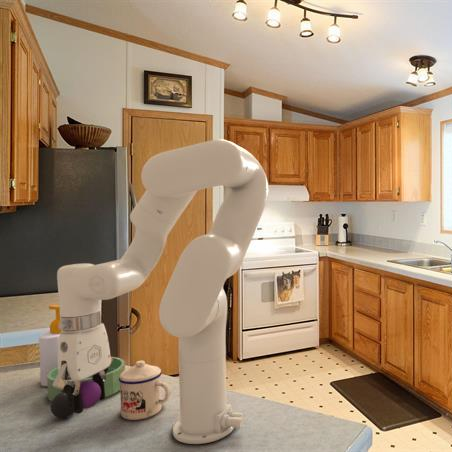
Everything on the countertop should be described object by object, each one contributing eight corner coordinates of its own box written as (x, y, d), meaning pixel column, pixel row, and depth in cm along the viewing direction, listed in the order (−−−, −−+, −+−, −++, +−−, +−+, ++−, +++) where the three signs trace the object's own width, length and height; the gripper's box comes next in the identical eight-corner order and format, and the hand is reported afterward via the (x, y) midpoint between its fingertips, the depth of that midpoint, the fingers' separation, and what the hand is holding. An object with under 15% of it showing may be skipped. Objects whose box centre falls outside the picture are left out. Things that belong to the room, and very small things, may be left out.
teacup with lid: (110, 418, 96) (109, 367, 96) (137, 401, 105) (136, 353, 104) (157, 424, 93) (156, 371, 93) (181, 405, 102) (180, 357, 101)
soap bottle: (69, 368, 128) (66, 300, 128) (93, 369, 127) (90, 301, 126) (31, 386, 115) (28, 311, 115) (57, 388, 114) (54, 311, 113)
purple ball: (108, 402, 94) (106, 377, 94) (88, 414, 89) (86, 387, 89) (86, 400, 96) (85, 376, 96) (66, 412, 90) (64, 386, 90)
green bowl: (140, 380, 118) (139, 358, 118) (89, 409, 101) (88, 384, 100) (86, 375, 122) (86, 354, 122) (30, 402, 105) (29, 378, 105)
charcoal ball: (85, 412, 99) (84, 388, 99) (65, 423, 94) (64, 398, 94) (65, 409, 101) (64, 386, 101) (44, 421, 95) (43, 396, 95)
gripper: (61, 333, 82) (68, 426, 83) (124, 312, 99) (129, 390, 100) (30, 333, 84) (37, 423, 85) (97, 312, 101) (102, 388, 102)
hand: (87, 404), depth 92 cm, fingers closed on purple ball, 5 cm apart
